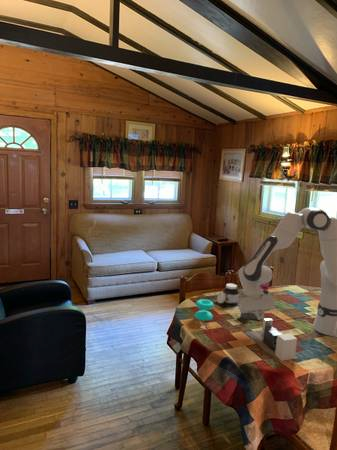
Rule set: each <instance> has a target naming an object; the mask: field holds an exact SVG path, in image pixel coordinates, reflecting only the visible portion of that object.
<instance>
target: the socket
mask: <svg viewBox="0 0 337 450" xmlns="http://www.w3.org/2000/svg"><path fill="white" fill-rule="evenodd" d="M297 343H298V338H297V337H296V336H295V335H293V334H292V333H282V334H281V335H277V343H276V351H275V355H276V356H277V357H278V358H279V359H280V360H281V361H280V362H283V361H288V360H289V359H290V360H296V359H295V354H296V351H297ZM282 360H283V361H282Z"/></svg>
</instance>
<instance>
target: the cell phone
mask: <svg viewBox="0 0 337 450" xmlns="http://www.w3.org/2000/svg"><path fill="white" fill-rule="evenodd" d="M199 329H201V330H205V331H210V330H209V328H208V327H207V326H206V324H205V323H202V324H201V326H200V327H199Z"/></svg>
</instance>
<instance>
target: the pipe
mask: <svg viewBox="0 0 337 450" xmlns="http://www.w3.org/2000/svg"><path fill="white" fill-rule="evenodd" d="M258 314H259V315H260V316H261V313H260V312H258ZM240 317H241V318H243V319H246V320H249V319H251V320H258V318H257V316H256V315H255V314H254V312H250V313H241V312H240Z"/></svg>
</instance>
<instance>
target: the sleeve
mask: <svg viewBox="0 0 337 450" xmlns="http://www.w3.org/2000/svg"><path fill="white" fill-rule="evenodd" d="M281 334H283V332H281V331H280V330H279V329H278V328H276V327H274V326H272V327H267V328H265V329H264V338H263V342H264V343H265V344H266V345H267V346H268V347H269V348H270V349H271V350H276V342H275V337H277V335H281Z"/></svg>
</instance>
